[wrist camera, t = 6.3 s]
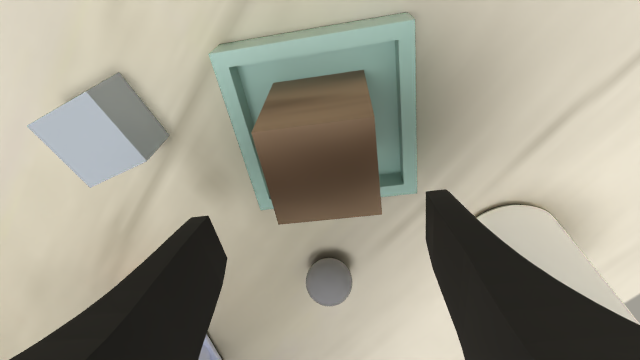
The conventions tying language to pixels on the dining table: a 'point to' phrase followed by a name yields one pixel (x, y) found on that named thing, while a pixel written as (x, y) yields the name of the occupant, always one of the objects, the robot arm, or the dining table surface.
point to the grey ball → (329, 282)
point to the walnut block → (319, 148)
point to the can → (551, 251)
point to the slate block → (101, 131)
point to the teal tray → (325, 59)
